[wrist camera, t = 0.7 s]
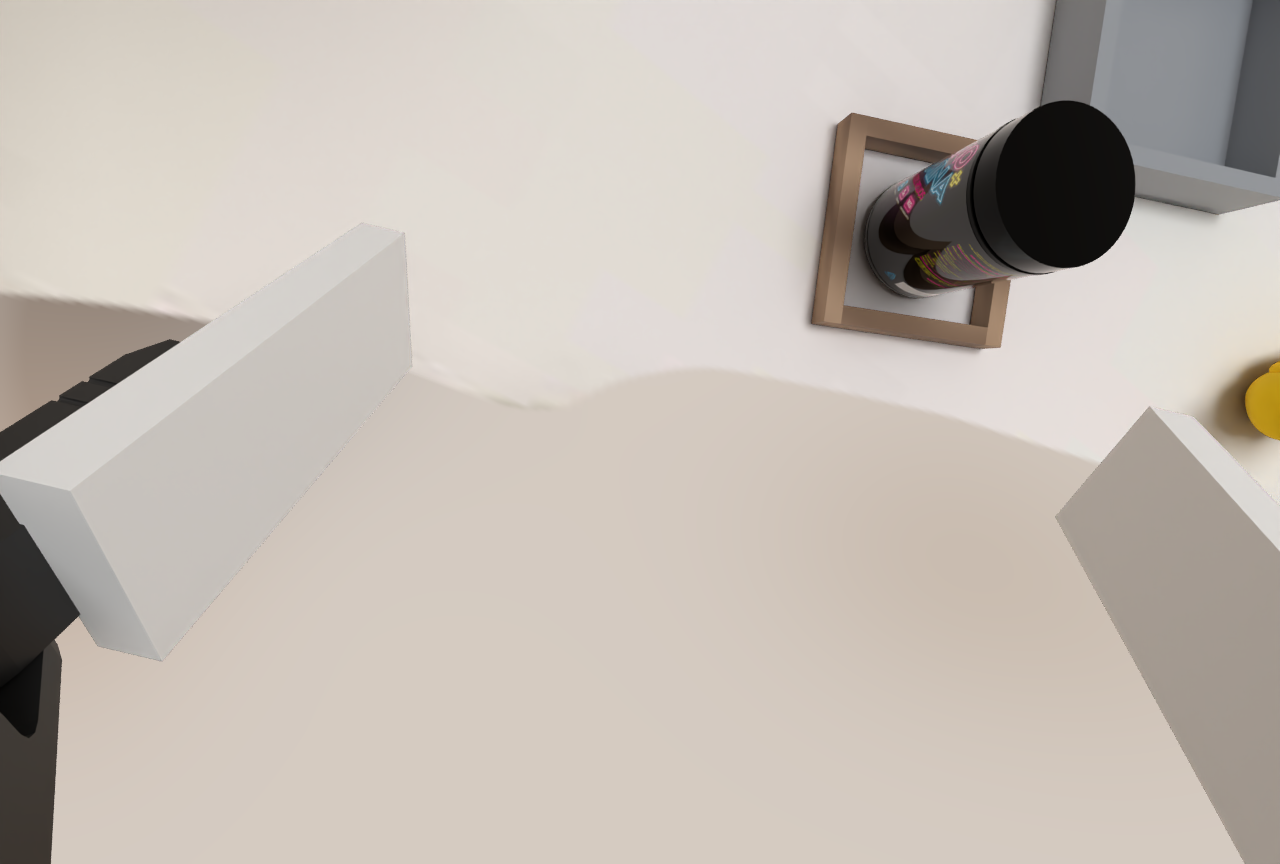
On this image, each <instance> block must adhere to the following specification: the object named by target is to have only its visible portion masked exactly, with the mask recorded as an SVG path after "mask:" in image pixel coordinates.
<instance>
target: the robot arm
mask: <svg viewBox="0 0 1280 864" xmlns="http://www.w3.org/2000/svg"><path fill="white" fill-rule="evenodd" d="M411 367H412V351H411V333H410V315H409V298H408V280H407V262H406V245H405V233H404V232H399V231H395V230H391V229H387V228H382V227H378V226H374V225H369V224H365V223H360V224H359V225H357V226H356V227H354V228H353V229H351V230H350V231H348V232H347V233H345V234H344V235H342V236H341V237H339V238H338V239H336V240H335V241H333V242H332V243H330V244H329V245H327V246H326V247H324V248H323V249H321V250H320V251H318V252H317V253H315V254H313V255H312V256H310V257H309V258H307V259H306V260H304V261H303V262H301V263H300V264H298V265H297V266H295V267H294V268H292V269H291V270H289V271H288V272H286V273H285V274H283V275H282V276H280V277H279V278H277V279H276V280H274V281H273V282H271V283H270V284H268V285H267V286H265V287H264V288H262V289H260V290H259V291H257V292H256V293H254V294H253V295H251V296H250V297H248V298H247V299H245V300H244V301H242V302H241V303H239V304H238V305H236V306H235V307H233V308H232V309H230V310H229V311H227V312H226V313H224V314H223V315H221V316H220V317H218V318H217V319H215V320H214V321H212V322H210V323H209V324H207V325H206V326H205V327H203V328H201V329H200V330H198V331H197V332H195V333H194V334H192V335H191V336H189V337H188V338H187V339H185V340H183V341H182V342H179V341H174V340H170V339H169V340H167V341H164V342H161V343H158V344H155V345H152V346H149V347H146V348H143V349H140V350H137V351H134V352H132V353H129V354H126V355H124V356H122V357H121V358H119V359H117V360H116V361H114V362H112V363H111V364H109V365H108V366H106V367H105V368H103V369H101V370H100V371H98V372H96V373H95V374H93V375H92V376H90V377H89V378H90V380H89V381H88V382H83V381H82V382H80V383H79V384H77V385H75V386H74V387H72V388H71V389H69V390H67V391H66V392H64V393H63V394H61V395H60V396H59V397H60V398H59V400H58V401H57V402H56V401H50V402H48V403H47V404H45V405H43V406H42V407H40V408H39V409H37V410H35V411H34V412H32V413H30V414H29V415H27V416H26V417H24V418H22V419H21V420H19V421H18V422H16V423H14V424H13V425H11V426H9V427H8V428H6V429H5V430H3V431H1V432H0V864H51V850H52V830H53V813H54V795H55V776H56V758H57V739H58V721H59V703H60V684H61V667H62V666H61V665H62V659H61V655H60V651H59V648H58V645H57V643H56V642H55V640H54V639H55V638H56V637H57V636H58V635H59V634H61V632H63V631H64V630H65V629H66V628H67V627H68V626H69V625H70V624H71V623H72V622H73V621H74V620H75V619H76V618H77V617H78V616H79V618H80V619H81V621H82V622H83V624H84V625H85V627H86V629H87V630H88V632H89V633H90V635H91V636H92V638H93V640H94V641H95V643H96V644H97V646H99V647H103V648H107V649H111V650H116V651H120V652H124V653H128V654H133V655H137V656H141V657H145V658H149V659H154V660H158V661H163V660H164V659H165V658H166V657H167V655H168V654H169V653H170V652H171V651H172V649H173V648H174V647H175V646H176V645H177V644H178V642H179V641H180V640H181V639H182V638H183V637H184V635H185V634H186V633H187V632H188V631H189V629H190V628H191V627H192V626H193V625H194V624H195V622H196V621H197V620H198V619H199V618H200V616H201V615H202V614H203V613H204V612H205V611H206V609H207V608H208V607H209V606H210V605H211V604H212V602H213V601H214V600H215V599H216V598H217V596H218V595H219V594H220V593H221V592H222V591H223V589H224V588H225V587H226V586H227V585H228V583H229V582H230V581H231V580H232V579H233V578H234V576H235V575H236V574H237V573H238V572H239V570H240V569H241V568H242V567H243V566H244V564H245V563H246V562H247V561H248V560H249V559H250V557H251V556H252V555H253V554H254V553H255V552H256V550H257V549H258V548H259V547H260V546H261V544H262V543H263V542H264V541H265V540H266V539H267V537H268V536H269V535H270V534H271V533H272V531H273V530H274V529H275V528H276V527H277V525H278V524H279V523H280V522H281V521H282V520H283V518H284V517H285V516H286V515H287V514H288V512H289V511H290V510H291V509H292V508H293V507H294V506H295V504H296V503H297V502H298V501H299V499H300V498H301V497H302V496H303V495H304V494H305V493H306V491H307V490H308V489H309V488H310V487H311V485H312V484H313V483H314V482H315V481H316V480H317V478H318V477H319V476H320V475H321V474H322V472H323V471H324V470H325V469H326V468H327V467H328V465H329V464H330V463H331V462H332V461H333V459H334V458H335V457H336V456H337V455H338V454H339V452H340V451H341V450H342V449H343V448H344V446H345V445H346V444H347V443H348V442H349V441H350V439H351V438H352V437H353V436H354V435H355V433H356V432H357V431H358V430H359V429H360V428H361V426H362V425H363V424H364V423H365V422H366V421H367V419H368V418H369V417H370V416H371V414H372V413H373V412H374V411H375V410H376V409H377V408H378V406H379V405H380V404H381V403H382V402H383V400H384V399H385V398H386V397H387V395H389V393H390V392H391V391H392V390H393V389H394V387H395V386H396V385H397V384H398V383H399V382H400V380H401V379H402V378H403V377H404V376H405V374H406V373H407V372H408V371H409V370H410V369H411ZM1055 518H1056V519H1057V521H1058V523H1059V525H1060V527H1061V528H1062V530H1063V532H1064V534H1065V536H1066V538H1067V539H1068V541H1069V543H1070V545H1071V547H1072V549H1073V550H1074V552H1075V554H1076V556H1077V558H1078V560H1079V561H1080V563H1081V565H1082V567H1083V569H1084V571H1085V572H1086V574H1087V576H1088V578H1089V580H1090V582H1091V583H1092V585H1093V587H1094V589H1095V591H1096V593H1097V594H1098V596H1099V598H1100V600H1101V602H1102V604H1103V605H1104V607H1105V609H1106V611H1107V613H1108V614H1109V616H1110V618H1111V620H1112V622H1113V623H1114V625H1115V627H1116V629H1117V631H1118V632H1119V635H1120V636H1121V638H1122V640H1123V642H1124V644H1125V646H1126V647H1127V649H1128V651H1129V653H1130V655H1131V656H1132V658H1133V660H1134V662H1135V664H1136V666H1137V667H1138V669H1139V671H1140V673H1141V675H1142V677H1143V678H1144V680H1145V682H1146V684H1147V686H1148V688H1149V689H1150V691H1151V693H1152V695H1153V697H1154V699H1155V700H1156V702H1157V704H1158V706H1159V708H1160V710H1161V711H1162V713H1163V715H1164V717H1165V719H1166V720H1167V722H1168V724H1169V726H1170V728H1171V729H1172V731H1173V733H1174V735H1175V737H1176V739H1177V741H1178V742H1179V744H1180V746H1181V748H1182V750H1183V752H1184V753H1185V755H1186V757H1187V759H1188V761H1189V763H1190V764H1191V766H1192V768H1193V770H1194V771H1195V773H1196V775H1197V777H1198V779H1199V781H1200V783H1201V784H1202V786H1203V788H1204V790H1205V792H1206V794H1207V795H1208V797H1209V799H1210V801H1211V803H1212V804H1213V806H1214V808H1215V810H1216V812H1217V814H1218V815H1219V817H1220V819H1221V821H1222V823H1223V825H1224V826H1225V828H1226V830H1227V832H1228V834H1229V836H1230V837H1231V839H1232V841H1233V843H1234V844H1235V847H1236V848H1237V850H1238V852H1239V854H1240V856H1241V858H1242V859H1243V861H1244V863H1245V864H1280V505H1279V504H1278V503H1277V502H1276V501H1275V500H1274V499H1273V498H1272V497H1271V496H1270V495H1269V494H1268V493H1267V492H1266V491H1265V490H1264V489H1263V488H1262V486H1261V485H1260V484H1259V483H1258V482H1257V481H1256V480H1255V479H1254V478H1253V477H1252V476H1251V475H1250V474H1249V473H1248V472H1247V471H1246V470H1245V469H1244V468H1243V467H1242V466H1241V465H1240V464H1239V463H1238V462H1237V461H1236V460H1235V459H1234V458H1233V457H1232V456H1231V455H1230V454H1229V453H1228V452H1227V451H1226V450H1225V449H1224V447H1223V446H1222V445H1221V444H1220V443H1219V442H1218V441H1217V440H1216V439H1215V438H1214V437H1213V436H1212V435H1211V434H1210V433H1209V432H1208V431H1207V430H1206V429H1205V428H1204V427H1203V426H1202V425H1201V424H1200V423H1199V422H1198V421H1197V420H1196V419H1195V418H1194V417H1193V416H1189V415H1185V414H1181V413H1176V412H1172V411H1168V410H1164V409H1159V408H1155V407H1151V406H1149V407H1148V409H1147V410H1146V411H1145V412H1144V413H1143V414H1142V416H1141V417H1140V418H1139V419H1138V420H1137V421H1136V423H1135V424H1134V425H1133V426H1132V427H1131V428H1130V430H1129V431H1128V432H1127V433H1126V434H1125V435H1124V437H1123V438H1122V439H1121V440H1120V441H1119V442H1118V444H1117V445H1116V446H1115V447H1114V448H1113V450H1112V451H1111V452H1110V453H1109V454H1108V455H1107V457H1106V458H1105V459H1104V460H1103V461H1102V462H1101V464H1100V465H1099V466H1098V467H1097V468H1096V469H1095V471H1094V472H1093V473H1092V474H1091V475H1090V476H1089V478H1088V479H1087V480H1086V481H1085V482H1084V483H1083V485H1082V486H1081V487H1080V488H1079V489H1078V491H1077V492H1076V493H1075V494H1074V495H1073V496H1072V498H1071V499H1070V500H1069V501H1068V502H1067V503H1066V505H1065V506H1064V507H1063V508H1062V509H1061V510H1060V512H1059V513H1058V514H1057V515H1056V516H1055Z"/></svg>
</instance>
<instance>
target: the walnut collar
mask: <svg viewBox="0 0 1280 864" xmlns="http://www.w3.org/2000/svg"><path fill="white" fill-rule="evenodd" d="M975 141H977V140H974V139H970V138H965V137H961V136H956V135H951V134H947V133H942V132H938V131H933V130H929V129H924V128H920V127H915V126H911V125H906V124H901V123H897V122H892V121H888V120H883V119H879V118H874V117H870V116H865V115H861V114H856V113H851V114H850V115H848V116H847V117H846V118H845V119H843V120H842V121H841V122H840V123H838V126H837V134H836V141H835V149H834V157H833V164H832V172H831V179H830V187H829V194H828V202H827V209H826V217H825V224H824V232H823V240H822V247H821V255H820V262H819V270H818V277H817V285H816V292H815V300H814V307H813V315H812V322H811V324H816V325H823V326H830V327H837V328H843V329H850V330H857V331H864V332H871V333H877V334H884V335H891V336H898V337H905V338H912V339H918V340H925V341H932V342H939V343H946V344H953V345H959V346H966V347H973V348H980V349H985V348H1000V347H1001V341H1002V334H1003V328H1004V321H1005V314H1006V308H1007V301H1008V295H1009V288H1010V281H1011V280H1008V281H1003V282H998V283H993V284H988V285H983V286H979V287H976V289H975V295H974V302H973V309H972V316H971V322H970V325H967V324H961V323H955V322H948V321H942V320H935V319H929V318H922V317H916V316H909V315H903V314H896V313H890V312H883V311H877V310H870V309H864V308H857V307H851V306H844V297H845V290H846V283H847V275H848V268H849V260H850V253H851V246H852V238H853V231H854V223H855V216H856V209H857V201H858V194H859V187H860V179H861V172H862V164H863V157H864V150H865V149H869V150H874V151H878V152H883V153H888V154H893V155H897V156H902V157H907V158H912V159H917V160H921V161H926V162H931V163H936V162H938V161H940V160H941V159H943V158H945V157H947V156H949V155H951V154H953V153H955V152H957V151H958V150H960V149H962V148H964V147H966V146H968V145H970V144H972V143H974V142H975Z"/></svg>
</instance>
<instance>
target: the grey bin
mask: <svg viewBox="0 0 1280 864" xmlns="http://www.w3.org/2000/svg"><path fill="white" fill-rule="evenodd" d="M1062 100H1070V101H1078V102H1082V103H1085V104H1088V105H1090V106H1092V107H1094V108H1096V109H1098V110H1099V111H1101V112H1102V113H1104V114H1105V115H1106V116H1107V117H1109V118H1110V119H1111V120H1112V122H1113V123H1114V124H1115V125H1116V126H1117V127H1118V129H1119V130H1120V132H1121V133H1122V135H1123V136H1124V138H1125V140H1126V142H1127V144H1128V147H1129V150H1130V152H1131V156H1132V159H1133V164H1134V169H1135V183H1136V186H1135V197H1140V198H1144V199H1149V200H1154V201H1158V202H1163V203H1168V204H1173V205H1177V206H1182V207H1187V208H1191V209H1196V210H1201V211H1206V212H1210V213H1215V214H1223V213H1227V212H1232V211H1236V210H1240V209H1244V208H1249V207H1253V206H1257V205H1261V204H1265V203H1270V202H1274V201H1278V200H1280V0H1057V2H1056V9H1055V15H1054V22H1053V29H1052V35H1051V42H1050V48H1049V55H1048V62H1047V68H1046V75H1045V81H1044V88H1043V94H1042V101H1041V106H1042V105H1045V104H1047V103H1051V102H1055V101H1062Z"/></svg>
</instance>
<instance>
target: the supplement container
mask: <svg viewBox="0 0 1280 864" xmlns="http://www.w3.org/2000/svg"><path fill="white" fill-rule="evenodd" d="M1135 186H1136V183H1135V169H1134V164H1133V159H1132V156H1131V152H1130V150H1129V147H1128V144H1127V142H1126V140H1125V138H1124V136H1123V135H1122V133H1121V132H1120V130H1119V129H1118V127H1117V126H1116V125H1115V124H1114V123H1113V122H1112V120H1111V119H1110V118H1109V117H1107V116H1106V115H1105V114H1104V113H1102V112H1101V111H1099V110H1098V109H1096V108H1094V107H1092V106H1090V105H1088V104H1085V103H1082V102H1078V101H1070V100H1062V101H1055V102H1051V103H1047V104H1045V105H1042V106H1040V107H1038V108H1036V109H1034V110H1032V111H1031V112H1029V113H1027V114H1025V115H1023V116H1021V117H1019V118H1017V119H1014V120H1012V121H1010V122H1008V123H1006V124H1005V125H1003V126H1001V127H1000V128H999V129H997V130H996V131H994V132H992V133H991V134H989V135H987V136H985V137H983V138H981V139H979V140H977V141H975V142H974V143H972V144H970V145H968V146H966V147H964V148H962V149H960V150H958V151H957V152H955V153H953V154H951V155H949V156H947V157H945V158H943V159H941V160H940V161H938V162H936V163H934V164H932V165H930V166H928V167H926V168H924V169H922V170H921V171H919V172H917V173H915V174H913V175H911V176H909V177H907V178H905V179H904V180H902V181H900V182H898V183H896V184H894V185H893V186H891V187H890V188H888V189H887V190H886V191H885V192H884V193H883V194H882V195H881V196H880V197H879V199H878V200H877V202H876V203H875V205H874V206H873V208H872V210H871V212H870V215H869V217H868V220H867V224H866V229H865V249H866V254H867V258H868V261H869V263H870V266H871V268H872V270H873V271H874V273H875V274H876V276H877V277H878V278H879V280H880V281H881V282H882V283H883V284H884V285H886V286H887V287H888V288H890V289H891V290H893V291H895V292H897V293H899V294H901V295H904V296H908V297H914V298H924V297H930V296H935V295H940V294H945V293H949V292H954V291H959V290H964V289H969V288H974V287H979V286H983V285H988V284H993V283H998V282H1003V281H1008V280H1012V279H1017V278H1022V277H1027V276H1032V275H1044V274H1049V273H1053V272H1056V271H1060V270H1065V269H1070V268H1074V267H1079V266H1083V265H1085V264H1088V263H1090V262H1092V261H1094V260H1096V259H1097V258H1099V257H1101V256H1102V255H1103V254H1104V253H1106V252H1107V251H1108V250H1109V249H1110V248H1111V247H1112V246H1113V245H1114V244H1115V242H1116V241H1117V240H1118V238H1119V237H1120V235H1121V234H1122V232H1123V231H1124V229H1125V227H1126V225H1127V222H1128V220H1129V218H1130V215H1131V211H1132V208H1133V203H1134V197H1135Z"/></svg>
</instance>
